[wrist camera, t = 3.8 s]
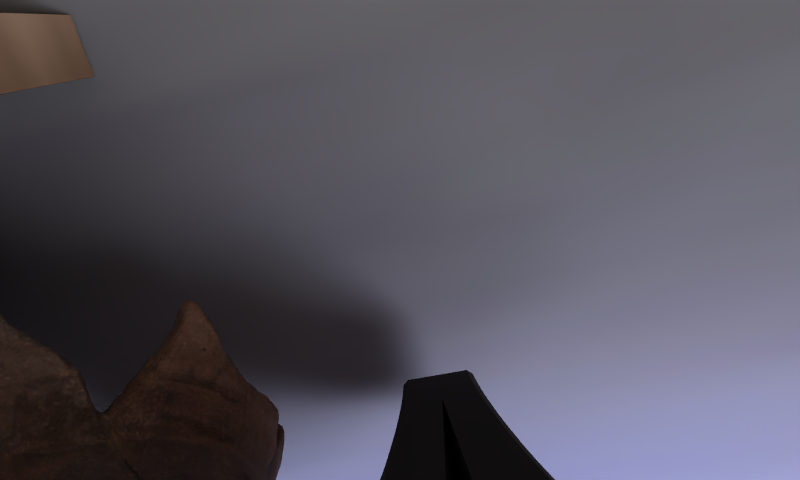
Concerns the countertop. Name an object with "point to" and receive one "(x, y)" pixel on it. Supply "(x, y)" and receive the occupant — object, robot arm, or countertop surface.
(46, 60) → the wooden bracket
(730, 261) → the countertop surface
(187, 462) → the brown jagged ring
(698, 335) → the countertop surface
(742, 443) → the countertop surface
